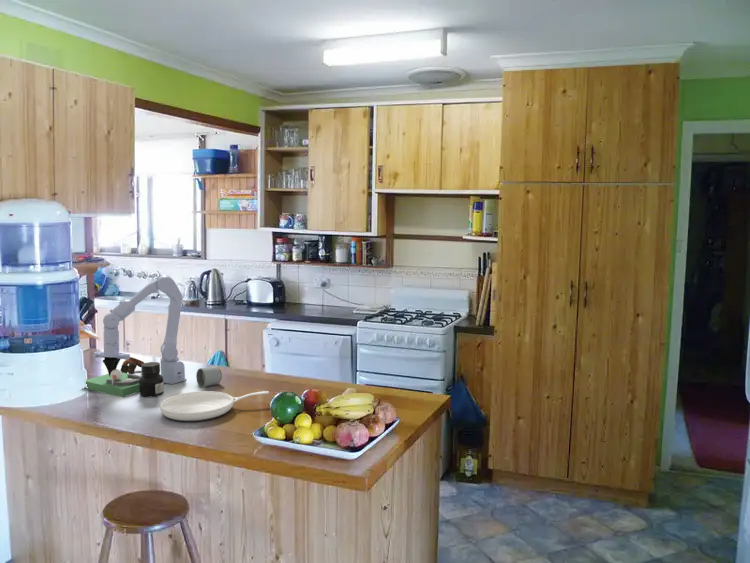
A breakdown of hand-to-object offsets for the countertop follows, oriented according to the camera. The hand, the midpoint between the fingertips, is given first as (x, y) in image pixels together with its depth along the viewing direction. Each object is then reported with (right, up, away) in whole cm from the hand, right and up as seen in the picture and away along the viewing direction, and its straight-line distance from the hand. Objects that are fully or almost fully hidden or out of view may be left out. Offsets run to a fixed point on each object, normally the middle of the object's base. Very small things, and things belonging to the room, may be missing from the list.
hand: (111, 375), depth 248 cm
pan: (+50, -8, -29) cm, 58 cm away
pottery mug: (0, -2, +20) cm, 20 cm away
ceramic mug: (+38, -4, +3) cm, 38 cm away
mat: (+4, -5, -1) cm, 6 cm away
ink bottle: (+20, -6, -10) cm, 23 cm away
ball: (+2, +1, -1) cm, 3 cm away
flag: (+6, -6, -11) cm, 14 cm away
